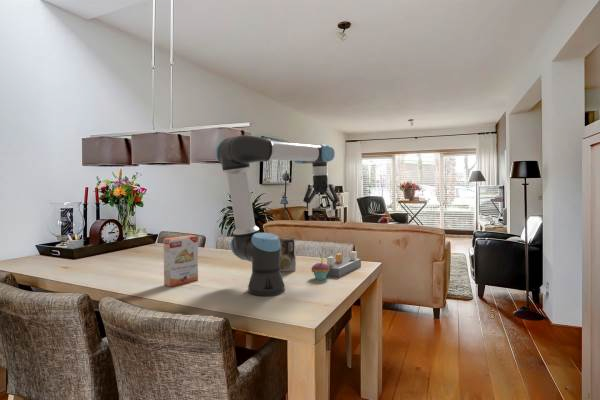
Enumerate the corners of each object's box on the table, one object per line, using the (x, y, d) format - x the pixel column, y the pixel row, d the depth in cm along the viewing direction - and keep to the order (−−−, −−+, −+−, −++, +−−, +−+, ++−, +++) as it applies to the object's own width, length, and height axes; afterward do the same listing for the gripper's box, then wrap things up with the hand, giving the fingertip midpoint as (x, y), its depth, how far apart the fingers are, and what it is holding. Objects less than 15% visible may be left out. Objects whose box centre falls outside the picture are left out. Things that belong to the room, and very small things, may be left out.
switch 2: (339, 262, 177) (339, 254, 177) (335, 262, 178) (335, 254, 178) (342, 261, 179) (342, 253, 179) (338, 260, 181) (338, 253, 180)
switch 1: (331, 266, 169) (331, 258, 169) (327, 265, 171) (327, 257, 170) (334, 264, 172) (334, 256, 171) (330, 264, 173) (329, 256, 173)
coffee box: (296, 268, 182) (295, 237, 182) (294, 271, 176) (294, 239, 175) (279, 268, 183) (278, 237, 183) (276, 271, 177) (276, 239, 176)
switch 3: (354, 260, 182) (354, 252, 182) (350, 259, 183) (350, 252, 183) (356, 259, 185) (356, 251, 184) (352, 258, 186) (352, 251, 186)
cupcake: (317, 275, 169) (316, 250, 168) (332, 277, 164) (332, 252, 164) (308, 279, 161) (308, 253, 161) (324, 282, 157) (324, 255, 157)
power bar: (339, 277, 164) (339, 268, 164) (322, 274, 169) (322, 266, 169) (361, 266, 186) (361, 258, 186) (345, 264, 191) (345, 256, 191)
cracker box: (170, 287, 150) (169, 239, 149) (163, 285, 154) (162, 238, 153) (199, 280, 161) (198, 235, 160) (191, 278, 165) (190, 234, 164)
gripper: (345, 173, 177) (346, 215, 178) (303, 175, 190) (304, 214, 191) (338, 174, 170) (340, 217, 172) (295, 175, 184) (297, 215, 185)
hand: (321, 215), depth 182 cm, fingers open, 13 cm apart
